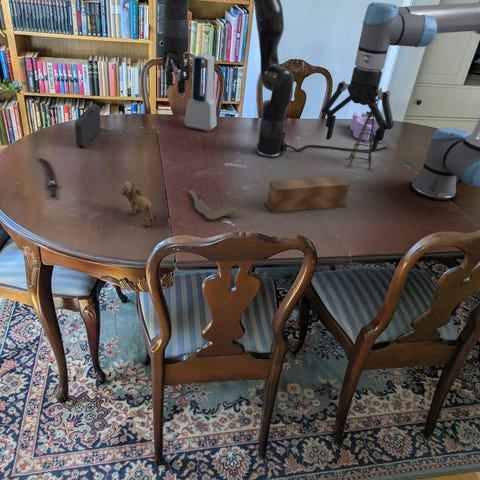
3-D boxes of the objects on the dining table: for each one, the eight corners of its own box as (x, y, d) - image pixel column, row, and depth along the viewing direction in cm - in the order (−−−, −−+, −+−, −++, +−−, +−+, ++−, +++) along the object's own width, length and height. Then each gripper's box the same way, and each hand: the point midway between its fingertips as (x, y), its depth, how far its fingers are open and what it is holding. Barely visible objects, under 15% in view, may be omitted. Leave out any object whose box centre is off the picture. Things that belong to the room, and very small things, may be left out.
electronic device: (216, 128, 205) (221, 56, 188) (210, 133, 198) (214, 59, 182) (190, 122, 207) (193, 51, 191) (183, 127, 201) (185, 54, 185)
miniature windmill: (370, 170, 181) (390, 92, 164) (348, 166, 182) (366, 88, 166) (369, 161, 188) (389, 86, 172) (348, 157, 189) (366, 82, 173)
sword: (61, 197, 141) (61, 193, 140) (50, 198, 139) (50, 194, 139) (49, 160, 164) (48, 156, 163) (39, 160, 163) (39, 157, 162)
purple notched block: (343, 126, 223) (346, 112, 219) (367, 127, 225) (371, 113, 221) (360, 142, 206) (364, 127, 202) (386, 142, 209) (390, 127, 205)
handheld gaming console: (94, 127, 192) (92, 103, 187) (101, 127, 192) (99, 103, 187) (76, 147, 173) (73, 121, 167) (83, 148, 173) (80, 122, 167)
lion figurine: (118, 210, 138) (116, 182, 133) (132, 204, 141) (131, 177, 137) (151, 229, 130) (150, 201, 126) (165, 223, 134) (165, 195, 129)
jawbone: (218, 227, 136) (218, 221, 134) (170, 202, 146) (169, 197, 145) (238, 214, 141) (238, 209, 140) (190, 191, 152) (190, 186, 151)
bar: (272, 212, 146) (276, 189, 141) (266, 204, 150) (269, 181, 146) (344, 206, 154) (349, 184, 149) (336, 198, 158) (341, 176, 154)
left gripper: (198, 38, 136) (196, 94, 145) (176, 29, 146) (176, 82, 155) (174, 39, 133) (174, 96, 141) (154, 29, 142) (155, 83, 151)
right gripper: (319, 61, 125) (306, 136, 136) (412, 80, 116) (389, 160, 127) (329, 57, 131) (315, 130, 142) (418, 75, 121) (396, 152, 133)
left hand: (175, 88), depth 148 cm, fingers open, 8 cm apart
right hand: (350, 144), depth 135 cm, fingers open, 13 cm apart
